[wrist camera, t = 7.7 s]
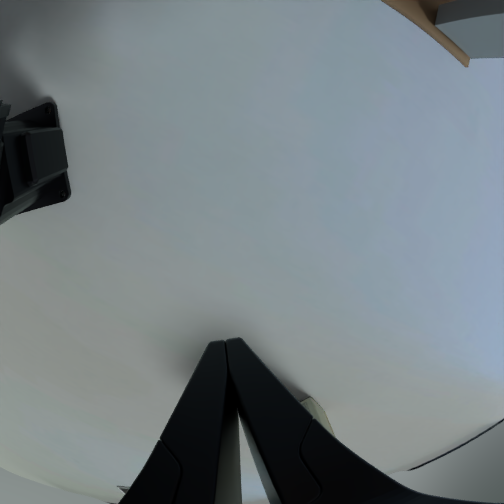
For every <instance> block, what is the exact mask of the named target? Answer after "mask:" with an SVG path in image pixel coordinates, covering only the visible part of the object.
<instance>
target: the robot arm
mask: <svg viewBox="0 0 504 504" xmlns="http://www.w3.org/2000/svg"><path fill="white" fill-rule="evenodd" d="M2 101H3V100H0V225H1V224H3V223H4V222H6V221H7V220H9V219H10V218H12V217H13V216H15V215H17V214H21V213H24V212H27V211H31V210H34V209H38V208H41V207H45V206H49V205H52V204H56V203H60V202H64V201H66V200H67V199H69V198H70V196H71V189H70V184H69V180H68V175H67V168H68V163H67V157H66V151H65V145H64V139H63V132H62V129H60V127H59V119H58V111H57V105H56V104H55V103H53V102H48V103H45V104H43V105H40V106H38V107H35V108H33V109H31V110H28V111H26V112H24V113H22V114H19V115H17V116H15V117H13V118H11V119H9V120H7V121H6V116H8V115H9V111H10V107H11V105H10V104H4V103H2ZM49 107H51V112H50V113H48V108H49ZM62 190H63V191H65V196H63V195H62V194H61V191H62ZM237 409H238V410H237ZM238 413H239V417H240V421H241V424H242V427H243V430H244V433H245V436H246V439H247V442H248V445H249V448H250V451H251V454H252V456H253V459H254V462H255V465H256V468H257V470H258V473H259V476H260V479H261V481H262V484H263V487H264V489H265V492H266V495H267V497H268V500H269V502H270V504H504V503H487V502H476V501H465V500H458V499H450V498H444V497H438V496H433V495H428V494H423V493H420V492H417V491H414V490H412V489H409V488H407V487H405V486H403V485H402V484H400V483H398V482H397V481H395V480H393V479H392V478H390V477H389V476H387V475H386V474H384V473H383V472H381V471H380V470H378V469H377V468H375V467H374V466H372V465H371V464H369V463H368V462H366V461H365V460H364V459H362V458H361V457H359V456H358V455H357V454H355V453H354V452H353V451H351V450H350V449H349V448H347V447H346V446H345V445H344V444H342V443H341V442H340V441H339V440H338V439H336V438H335V437H334V436H333V435H332V434H331V433H330V432H329V431H328V430H327V429H326V428H325V427H324V426H323V425H322V424H321V423H320V422H319V421H318V420H317V419H315V418H314V419H313V415H312V414H311V413H310V412H309V411H308V410H307V409H306V408H305V407H304V406H303V405H302V404H301V403H300V402H299V401H298V400H297V399H296V398H295V397H294V396H293V395H292V393H291V392H290V391H289V390H288V389H287V388H286V387H285V386H284V385H283V384H282V383H281V382H280V381H279V380H278V378H277V377H276V376H275V375H274V374H273V373H272V372H271V371H270V370H269V369H268V367H267V366H266V365H265V364H264V363H263V362H262V361H261V360H260V359H259V357H258V356H257V355H256V354H255V353H254V352H253V351H252V349H251V348H250V347H249V346H248V345H247V344H246V343H245V341H244V340H243V339H242V338H240V337H238V338H232V339H227V340H226V343H225V341H224V340H218V341H211V342H210V343H209V344H208V346H207V348H206V349H205V351H204V353H203V355H202V357H201V359H200V361H199V363H198V365H197V367H196V369H195V371H194V373H193V375H192V377H191V378H190V380H189V382H188V384H187V386H186V388H185V390H184V392H183V394H182V396H181V398H180V400H179V402H178V404H177V405H176V407H175V409H174V411H173V413H172V415H171V417H170V419H169V421H168V423H167V425H166V427H165V429H164V430H163V432H162V434H161V436H160V440H158V442H157V444H156V445H155V447H154V449H153V451H152V453H151V455H150V457H149V458H148V460H147V462H146V464H145V465H144V467H143V469H142V470H141V472H140V473H139V475H138V476H137V478H136V479H135V481H134V482H133V484H132V485H131V487H130V488H129V489H128V491H127V492H126V494H125V495H124V496H123V498H122V499H121V500H120V502H119V503H118V504H242V493H241V470H240V444H239V419H238Z"/></svg>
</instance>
